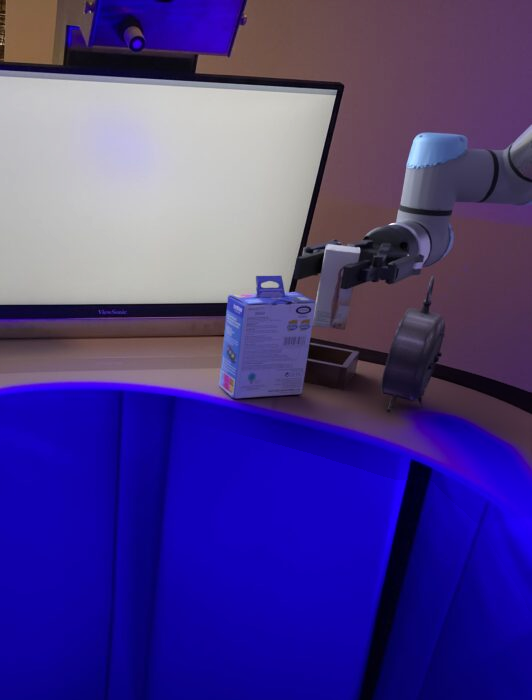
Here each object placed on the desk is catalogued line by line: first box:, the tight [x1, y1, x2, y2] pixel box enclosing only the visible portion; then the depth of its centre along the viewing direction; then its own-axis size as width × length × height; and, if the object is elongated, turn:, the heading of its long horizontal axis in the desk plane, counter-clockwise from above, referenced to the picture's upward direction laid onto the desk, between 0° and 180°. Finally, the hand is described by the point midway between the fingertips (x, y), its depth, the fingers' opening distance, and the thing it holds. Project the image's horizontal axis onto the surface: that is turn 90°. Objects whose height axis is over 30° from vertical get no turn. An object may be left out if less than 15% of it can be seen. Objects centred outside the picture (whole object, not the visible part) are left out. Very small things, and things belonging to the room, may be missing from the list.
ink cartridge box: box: [218, 275, 316, 400], centre depth 106 cm, size 10×6×14 cm, turn 106°
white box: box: [312, 244, 360, 331], centre depth 110 cm, size 5×4×10 cm
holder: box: [304, 342, 360, 390], centre depth 115 cm, size 8×8×3 cm
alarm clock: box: [380, 276, 446, 413], centre depth 103 cm, size 11×5×16 cm, turn 149°
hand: (321, 273), depth 106 cm, fingers closed on white box, 6 cm apart
